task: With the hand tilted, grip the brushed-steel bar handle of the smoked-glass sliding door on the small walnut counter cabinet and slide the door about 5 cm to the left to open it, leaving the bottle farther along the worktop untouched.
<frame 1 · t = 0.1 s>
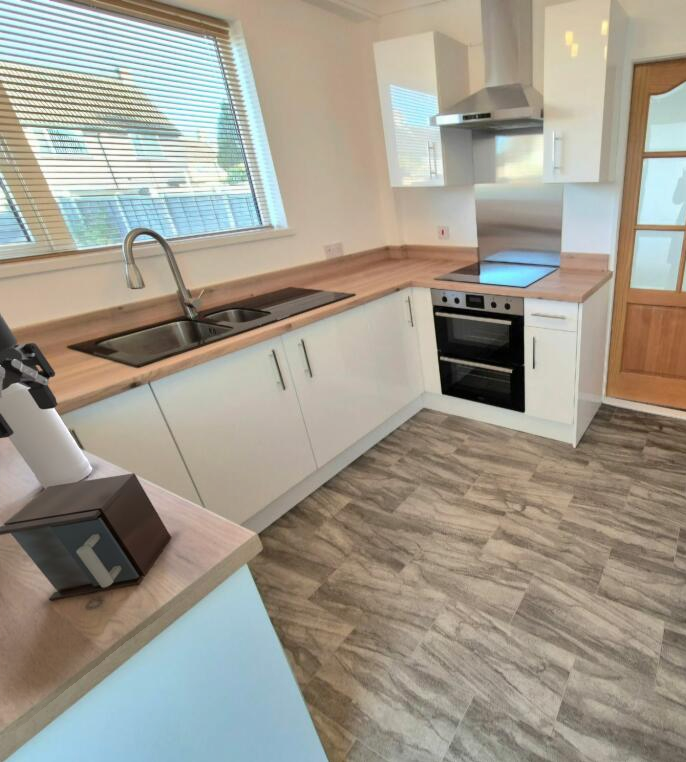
hand: (28, 421, 66), 23 cm above the table, tool pointing down, fingers open, 8 cm apart
glass door: (89, 562, 61), point 7 cm above the table, slide at 0.0 cm
walnut cabinet: (118, 563, 69), on the table
bottle: (69, 478, 91), on the table
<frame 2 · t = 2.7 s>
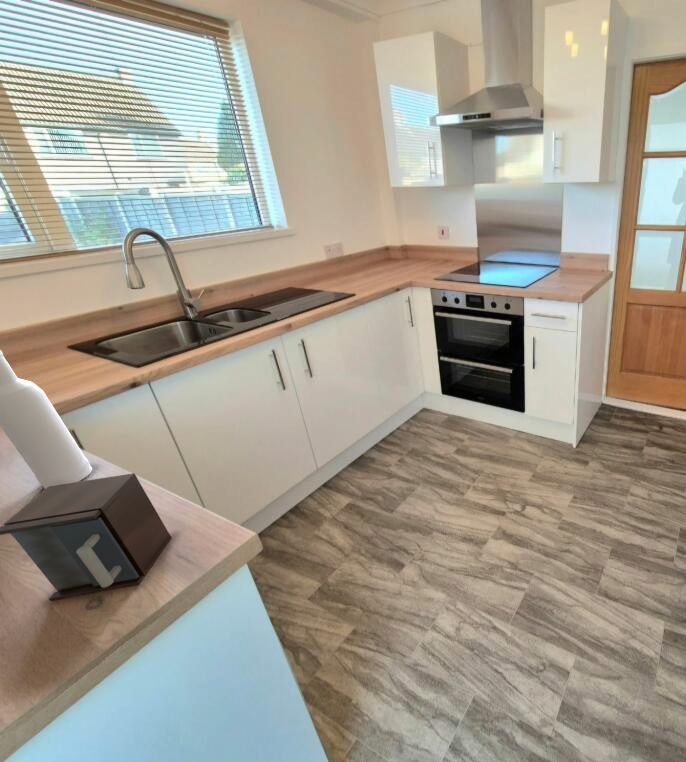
nothing on the table moved.
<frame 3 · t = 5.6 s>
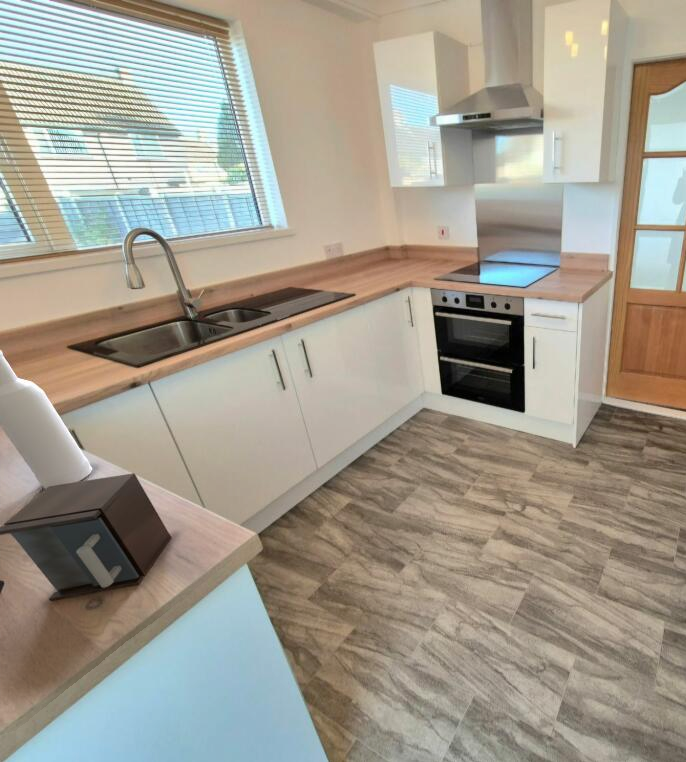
nothing on the table moved.
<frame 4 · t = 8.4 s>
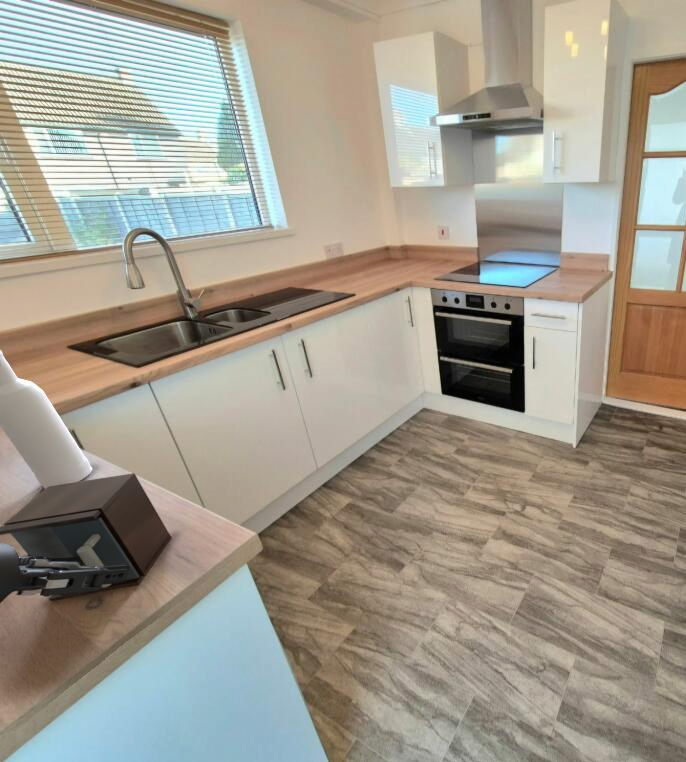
hand: (102, 569, 60), 6 cm above the table, tool tilted 45°, fingers open, 8 cm apart
glass door: (89, 562, 61), point 7 cm above the table, slide at 0.0 cm, touching gripper
everything else where it was.
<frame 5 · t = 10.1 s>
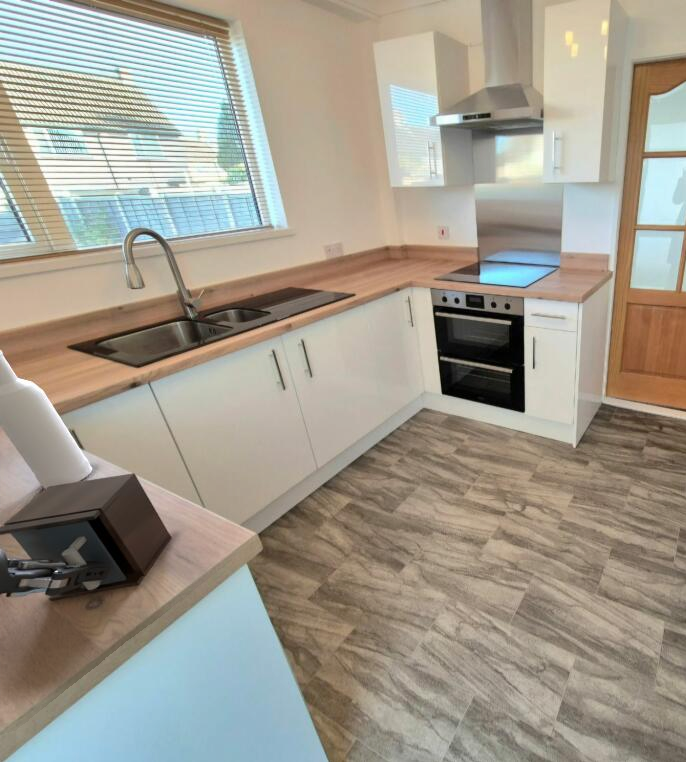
hand: (101, 570, 62), 5 cm above the table, tool tilted 45°, fingers closed
glass door: (75, 564, 60), point 7 cm above the table, slide at 1.8 cm, touching gripper
everything else where it was.
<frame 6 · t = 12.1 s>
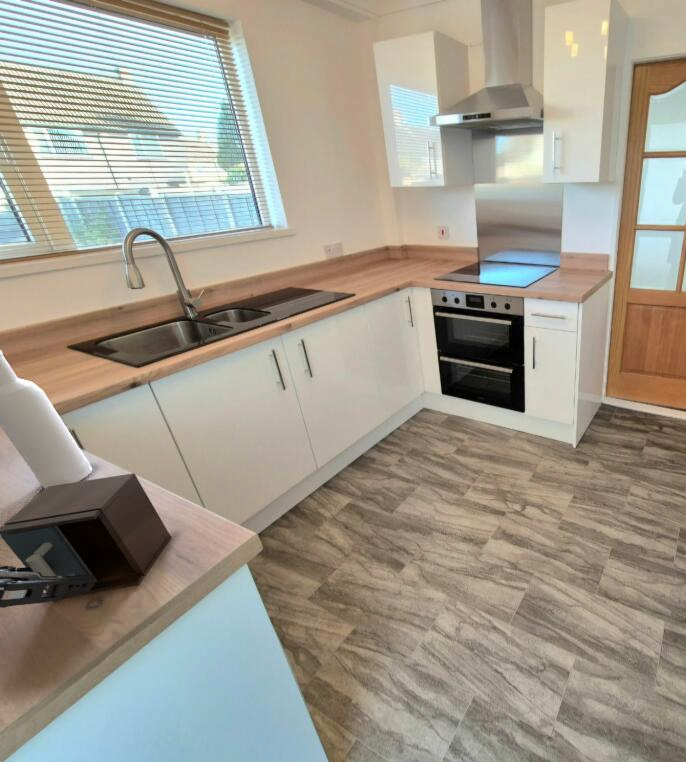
hand: (69, 578, 60), 5 cm above the table, tool tilted 45°, fingers open, 8 cm apart
glass door: (41, 570, 60), point 7 cm above the table, slide at 6.1 cm, touching gripper
everything else where it was.
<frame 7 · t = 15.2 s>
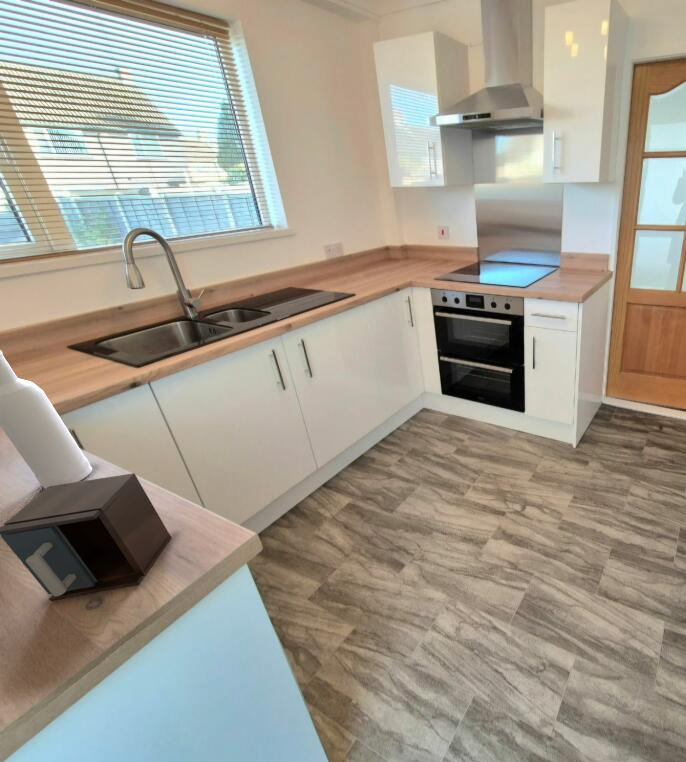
glass door: (41, 570, 60), point 7 cm above the table, slide at 6.0 cm
everything else where it was.
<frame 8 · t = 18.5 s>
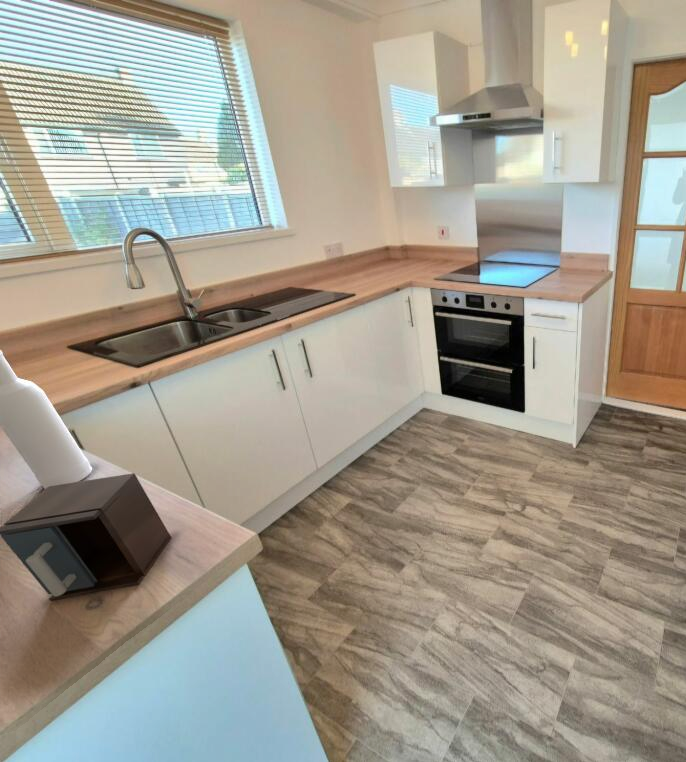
nothing on the table moved.
at the end: glass door slide at 6.0 cm; bottle moved 0.2 cm from its start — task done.
